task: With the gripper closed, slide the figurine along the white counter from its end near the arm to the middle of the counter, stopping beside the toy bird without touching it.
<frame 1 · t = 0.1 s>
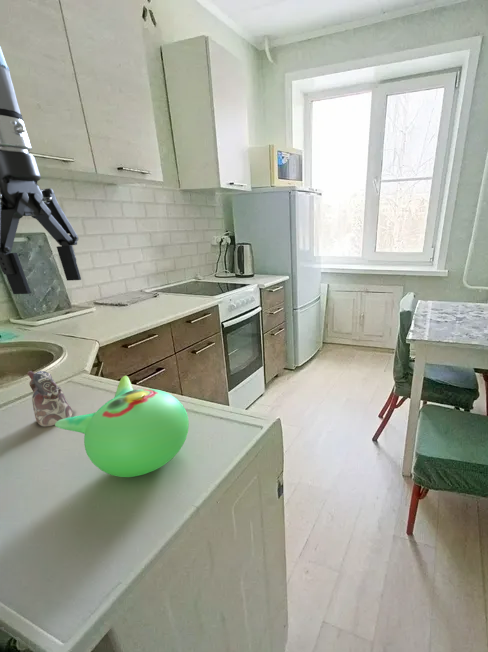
hand: (50, 286, 66), 30 cm above the countertop, tool pointing down, fingers open, 13 cm apart
figurine: (55, 419, 83), on the countertop
toy bird: (145, 462, 66), on the countertop
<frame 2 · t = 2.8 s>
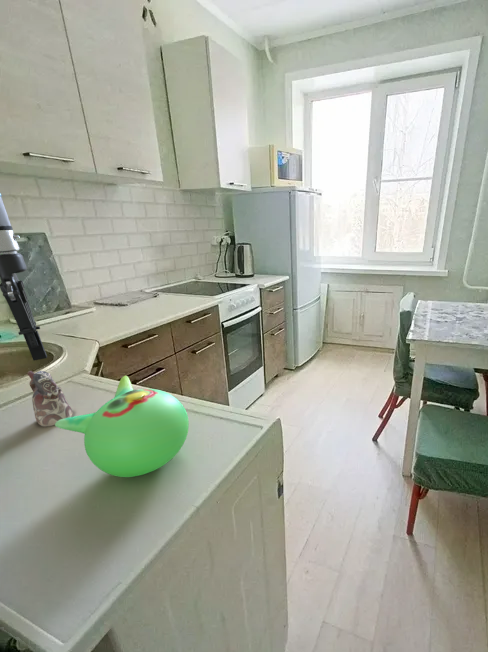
hand: (40, 358, 84), 12 cm above the countertop, tool pointing down, fingers closed
nothing on the countertop moved.
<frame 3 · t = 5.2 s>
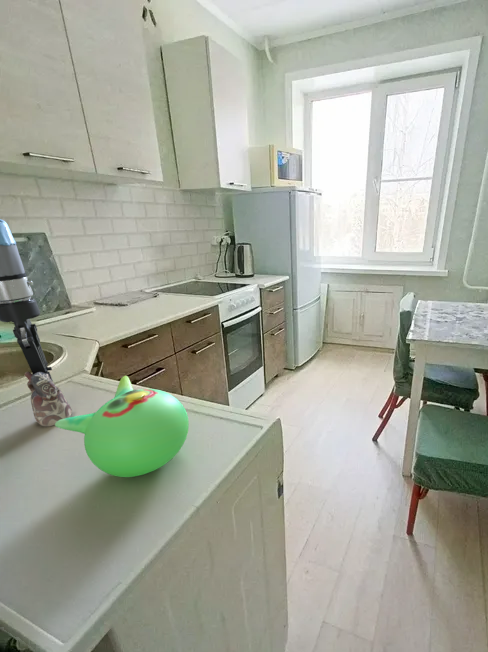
hand: (51, 398, 84), 4 cm above the countertop, tool pointing down, fingers closed
figurine: (55, 417, 83), on the countertop, touching gripper, hand
everything else where it was.
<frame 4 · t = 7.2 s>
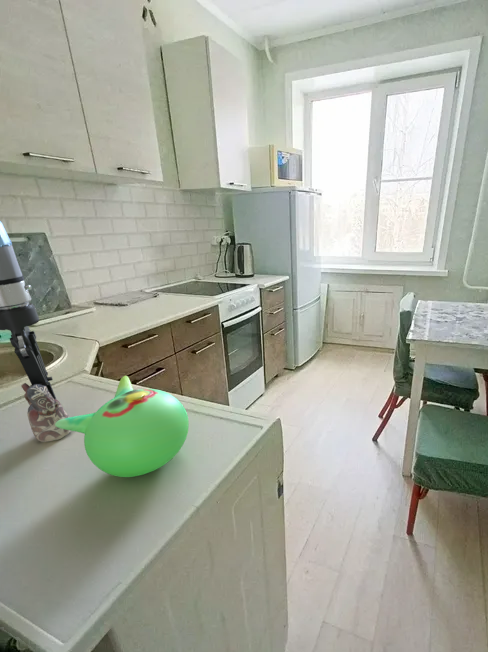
hand: (52, 410, 79), 4 cm above the countertop, tool pointing down, fingers closed
figurine: (54, 431, 77), on the countertop, touching gripper, hand
everything else where it was.
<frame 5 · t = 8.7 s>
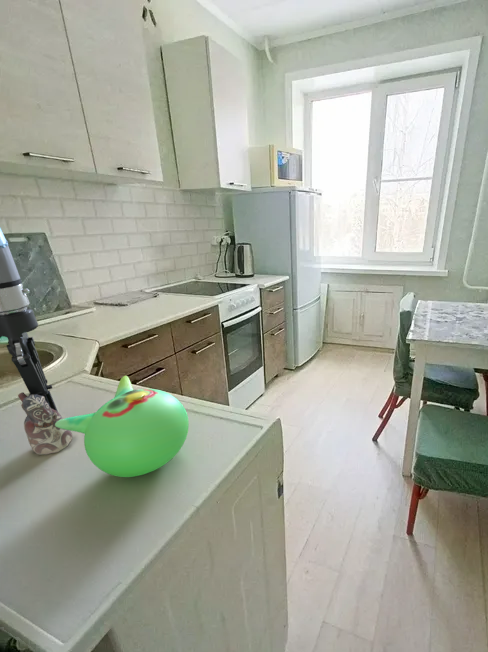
hand: (52, 420, 75), 4 cm above the countertop, tool pointing down, fingers closed
figurine: (53, 443, 73), on the countertop, touching gripper, hand
everything else where it was.
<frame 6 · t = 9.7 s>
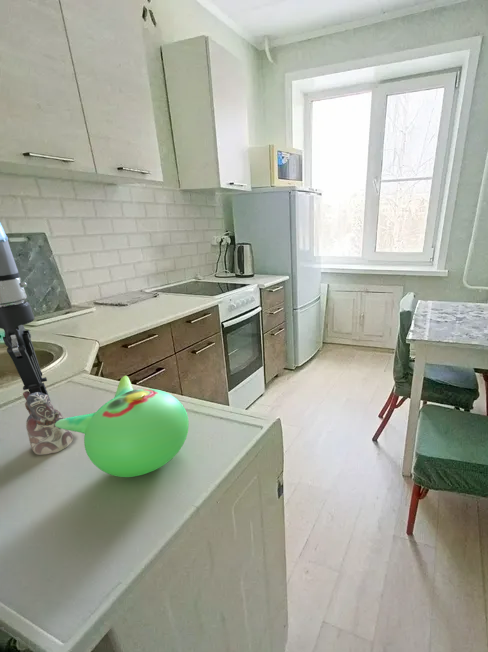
hand: (46, 412, 76), 5 cm above the countertop, tool pointing down, fingers closed
figurine: (53, 445, 73), on the countertop
everything else where it was.
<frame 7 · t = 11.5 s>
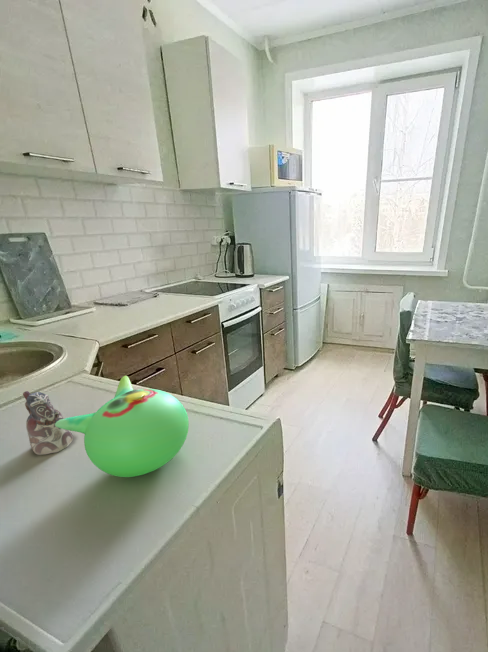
nothing on the countertop moved.
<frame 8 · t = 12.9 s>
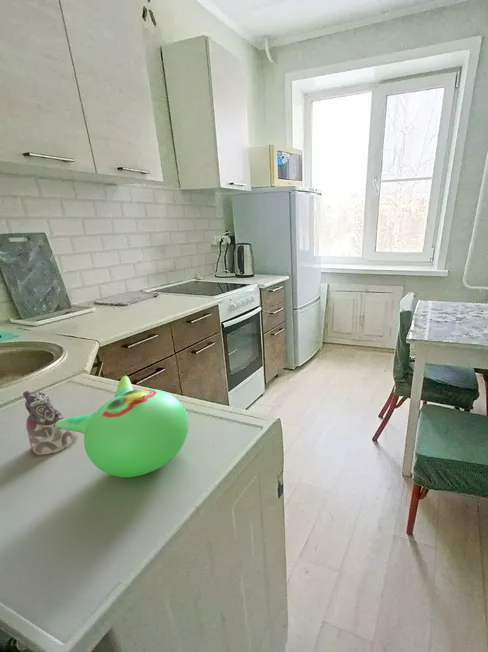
nothing on the countertop moved.
at the end: figurine inside the target area (1.7 cm from its centre), on the countertop; figurine moved 12.5 cm from its start; figurine tilted 0° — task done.
